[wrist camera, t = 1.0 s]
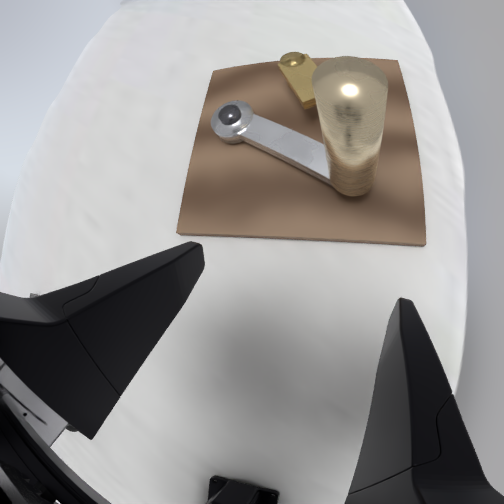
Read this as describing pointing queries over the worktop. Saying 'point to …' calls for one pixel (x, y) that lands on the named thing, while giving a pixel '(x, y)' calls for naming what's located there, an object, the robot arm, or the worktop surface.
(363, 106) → the beige lever tool
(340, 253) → the worktop surface
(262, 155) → the walnut board
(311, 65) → the plate
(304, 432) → the worktop surface
